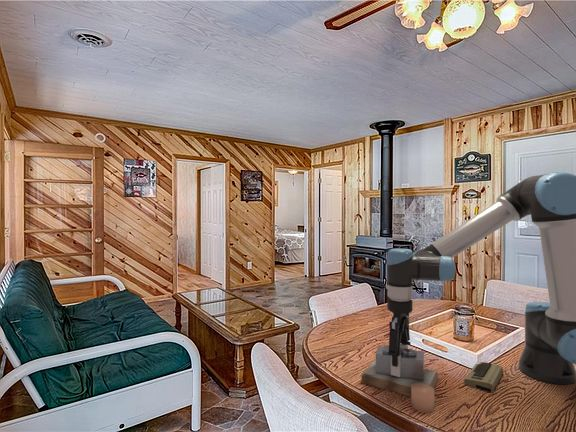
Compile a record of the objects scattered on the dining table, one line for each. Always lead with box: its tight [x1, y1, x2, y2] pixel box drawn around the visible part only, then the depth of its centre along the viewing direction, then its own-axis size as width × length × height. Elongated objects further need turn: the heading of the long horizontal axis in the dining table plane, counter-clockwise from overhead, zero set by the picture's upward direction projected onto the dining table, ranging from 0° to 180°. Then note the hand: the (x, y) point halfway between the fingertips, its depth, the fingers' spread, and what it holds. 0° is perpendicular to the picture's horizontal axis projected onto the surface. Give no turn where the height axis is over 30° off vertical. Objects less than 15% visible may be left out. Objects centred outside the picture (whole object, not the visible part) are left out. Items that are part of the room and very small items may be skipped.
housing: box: [375, 344, 425, 381], centre depth 109 cm, size 14×7×7 cm, turn 68°
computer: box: [463, 361, 504, 394], centre depth 110 cm, size 16×8×3 cm, turn 139°
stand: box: [360, 358, 439, 398], centre depth 109 cm, size 20×14×3 cm
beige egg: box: [410, 383, 435, 414], centre depth 96 cm, size 6×6×5 cm
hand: (399, 369), depth 109 cm, fingers closed on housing, 8 cm apart
